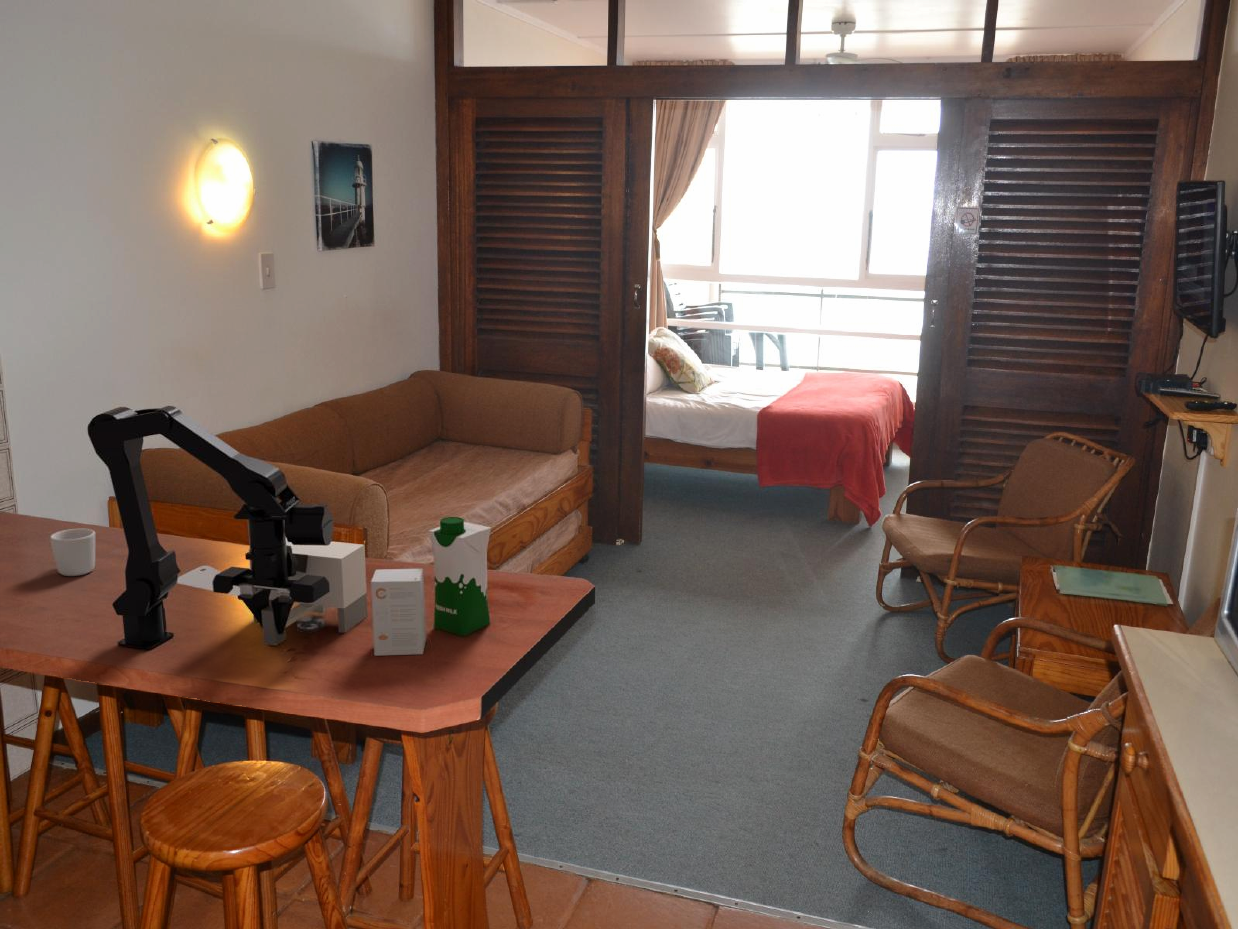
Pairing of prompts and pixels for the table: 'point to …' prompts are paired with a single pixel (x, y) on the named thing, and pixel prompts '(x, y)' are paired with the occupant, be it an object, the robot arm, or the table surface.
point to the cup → (74, 551)
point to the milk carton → (460, 575)
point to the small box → (398, 612)
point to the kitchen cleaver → (203, 579)
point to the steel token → (310, 624)
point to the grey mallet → (297, 612)
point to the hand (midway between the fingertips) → (274, 632)
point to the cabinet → (336, 579)
